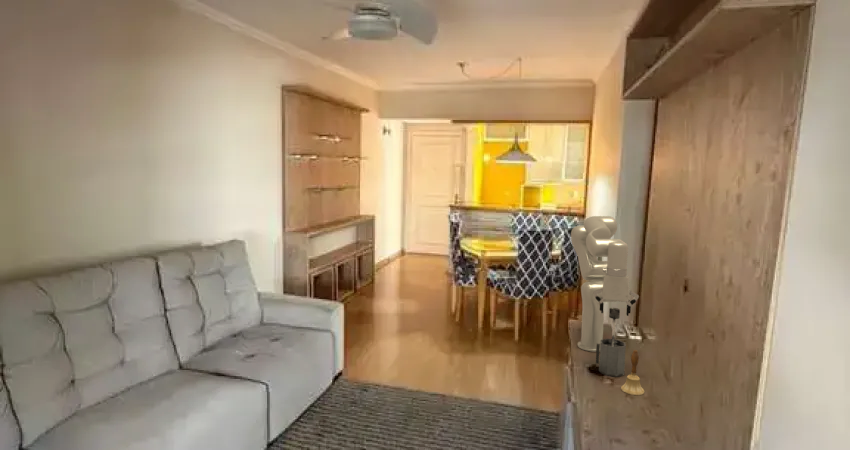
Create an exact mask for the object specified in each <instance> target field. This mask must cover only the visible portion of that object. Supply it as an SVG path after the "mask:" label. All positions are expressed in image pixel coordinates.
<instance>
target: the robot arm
mask: <svg viewBox="0 0 850 450" xmlns="http://www.w3.org/2000/svg"><path fill="white" fill-rule="evenodd" d="M617 230H618V223H617V220H616V219H615V218H614V217H612V216H609V215H607V216H606V215H603V216H601V215H600V216H599V215H595V216H594V215H593V216H589V217H587V218H585V220H584V222H583V225H577V226H574V227H573V228H572V229H571V233H570V239H571V243H572V246H573V249H574V251H575V252H576V255H577V258H578V265H579V269H580V274H581V277H582V279H583V280H585V282H584V283H582V285H581V287H580V289H581V290H580V293H581V294H580V295H581V302H582V311H581V312H582V313H581V314H582V315H581V332H580V333H581V336H580V338H581V339H580V341H578V342H577V347H578V348H579V349H581V350H582V351H586V352H592V353H596V347H597V344H600V343H601V340H603V339H604V318H605V317H604V316H605V313H604V312H605V311H604V304H605V303H615V302H621V303H623V302H624V303H626V313H625V315H626V316H627V317H629V314H631V313H632V312H631V309H632V306H633V305H634V304H635V303H636V302H637V301H638V299H639V297H640V296H639V294H637V293H635V292H633V291H632V290H630V279H629V278H630V277H629V275H627V274H628V252H629V251H628V250H629V246H628V243H626V242H624V241H623V240H622V239H619V238H612V237H613V236H614V235H615V234H616V232H617ZM599 257H600V258H605V257H606V258H607V259H606V260H598V258H599ZM630 295H631V297H633V298H632V300H631V299H630ZM599 353H600V350H599Z"/></svg>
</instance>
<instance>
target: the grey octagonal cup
mask: <svg viewBox="0 0 850 450" xmlns="http://www.w3.org/2000/svg"><path fill="white" fill-rule="evenodd" d="M605 344H612V338H605V339H604V338H603V340H601V343H600V344H597V347H596V352H595V364H596V365H598V364H599V365H598V366H599V367H598V372H599V373H600V374H602V375H604V376H606V375H607V377H611V378H620V377H623V376H625V363H626V346H627V345H626V342H625V341H622V340H620V339H616V338H615V339H614V344H616V345H619V346H620V347H613V346H607V345H605ZM599 350H600V352H599Z"/></svg>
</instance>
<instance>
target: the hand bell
mask: <svg viewBox="0 0 850 450" xmlns="http://www.w3.org/2000/svg"><path fill="white" fill-rule="evenodd" d="M632 351H633V352H632V354H631V356H630V361H631V372H630V374H628V375H627V376H626V379H625V383H624V384H623V385H621V387H620V390H621V392H624V393H625V394H628V395H631V396H641V395H642V396H643V395H644V394H645V390H644V388H643V387H642V385H641V379H640V377H639V376H638V375H637V366H638V363H639V359H640V358H639V353H638V350H637V349H633V350H632Z"/></svg>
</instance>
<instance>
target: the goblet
mask: <svg viewBox="0 0 850 450" xmlns="http://www.w3.org/2000/svg"><path fill="white" fill-rule="evenodd" d="M620 316H621V309H620V308H617V307H609V311H608V318H609V319H612V329H611V331H612V332H611V339H612V344H605V345H607V346H613V347H620V346H619V345H616V344H614V339H616V338H615V337H616V335H615V333H616V320H619V319H620Z"/></svg>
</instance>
